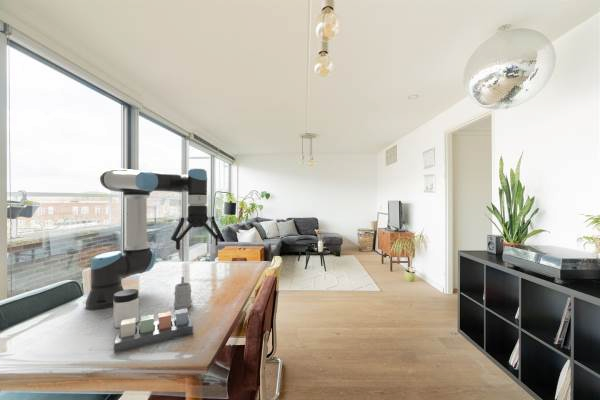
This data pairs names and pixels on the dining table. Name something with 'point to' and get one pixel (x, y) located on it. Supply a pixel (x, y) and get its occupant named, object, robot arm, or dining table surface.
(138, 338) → the key panel
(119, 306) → the jar
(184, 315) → the key slate
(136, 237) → the robot arm
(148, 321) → the key sage
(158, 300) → the dining table surface
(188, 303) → the mug
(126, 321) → the key ivory
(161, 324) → the key coral
